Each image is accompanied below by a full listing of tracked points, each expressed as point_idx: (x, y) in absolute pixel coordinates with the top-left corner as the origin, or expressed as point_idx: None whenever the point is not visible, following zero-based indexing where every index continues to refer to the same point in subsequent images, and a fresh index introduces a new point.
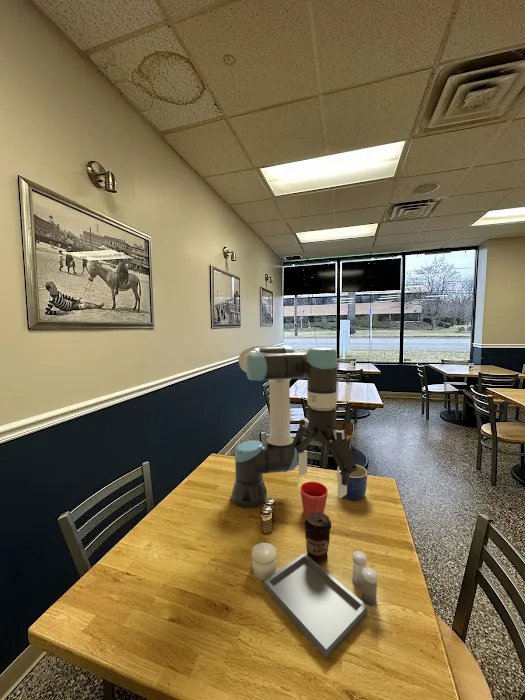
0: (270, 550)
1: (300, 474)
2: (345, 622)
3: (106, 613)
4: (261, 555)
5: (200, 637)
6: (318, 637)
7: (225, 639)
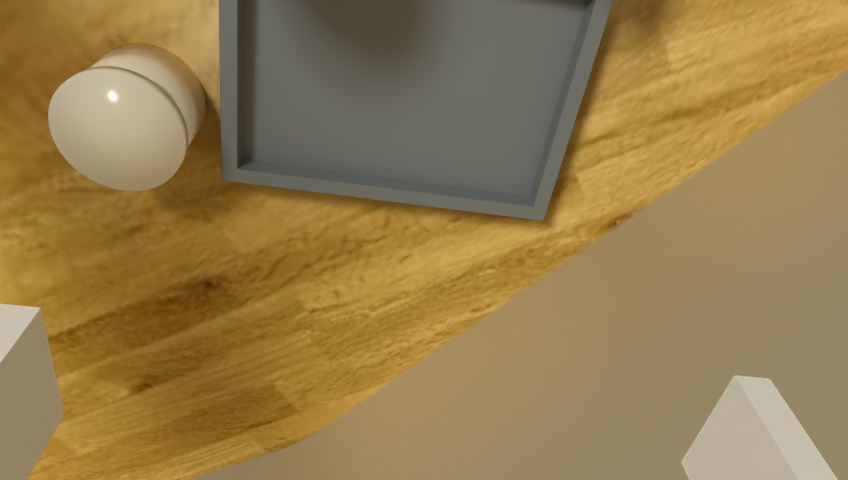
0: (129, 106)
1: (53, 432)
2: (564, 110)
3: None
4: (130, 157)
5: (237, 366)
6: (507, 208)
7: (287, 332)
